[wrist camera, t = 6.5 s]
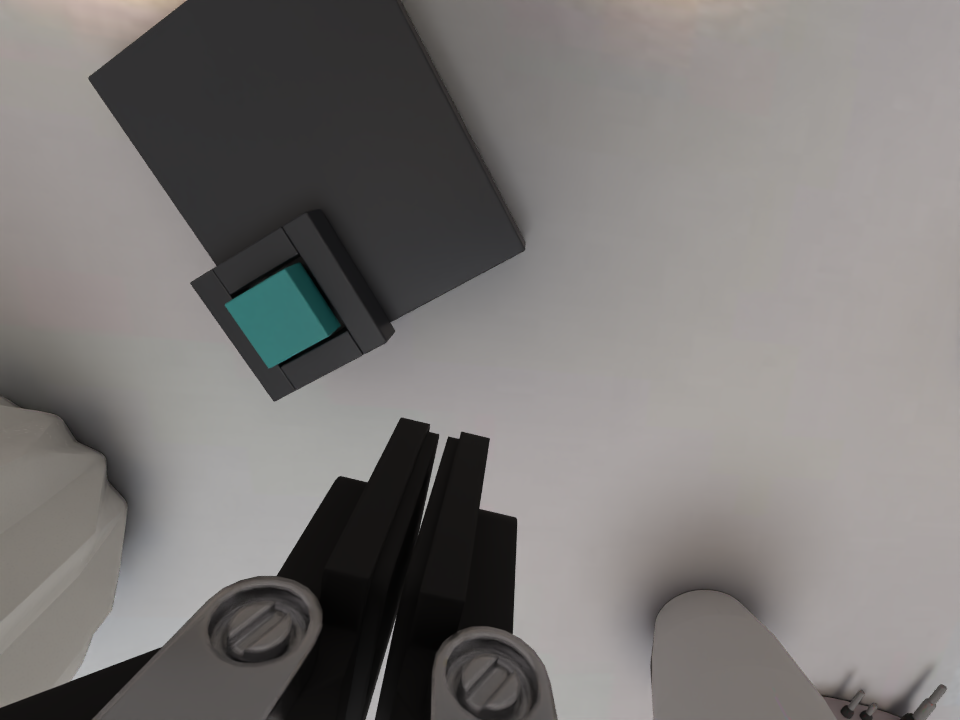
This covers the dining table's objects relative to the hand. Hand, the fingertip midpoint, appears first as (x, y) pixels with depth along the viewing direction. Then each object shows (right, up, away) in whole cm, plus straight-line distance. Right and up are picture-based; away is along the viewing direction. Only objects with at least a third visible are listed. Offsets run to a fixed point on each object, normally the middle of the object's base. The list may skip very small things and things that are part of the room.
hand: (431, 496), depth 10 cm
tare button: (-7, +5, +12) cm, 15 cm away
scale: (-6, +11, +13) cm, 18 cm away
